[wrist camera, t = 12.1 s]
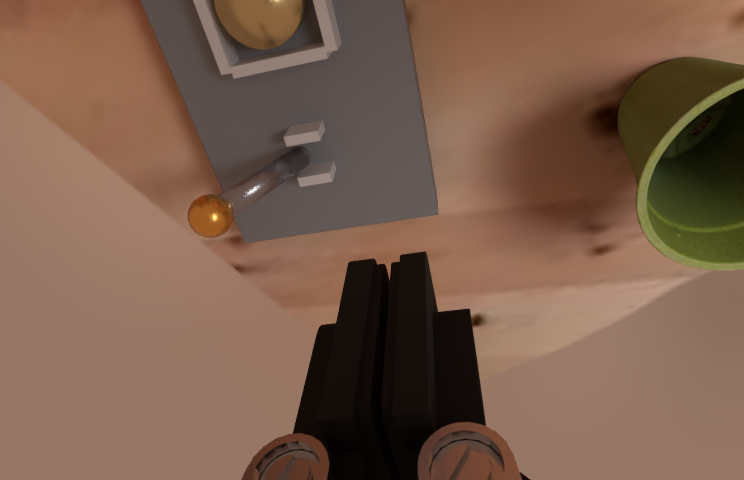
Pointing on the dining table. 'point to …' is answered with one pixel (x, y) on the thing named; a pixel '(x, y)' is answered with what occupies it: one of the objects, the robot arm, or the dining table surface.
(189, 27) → the switch panel
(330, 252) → the dining table surface
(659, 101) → the plant pot
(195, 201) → the lever
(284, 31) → the brass button
